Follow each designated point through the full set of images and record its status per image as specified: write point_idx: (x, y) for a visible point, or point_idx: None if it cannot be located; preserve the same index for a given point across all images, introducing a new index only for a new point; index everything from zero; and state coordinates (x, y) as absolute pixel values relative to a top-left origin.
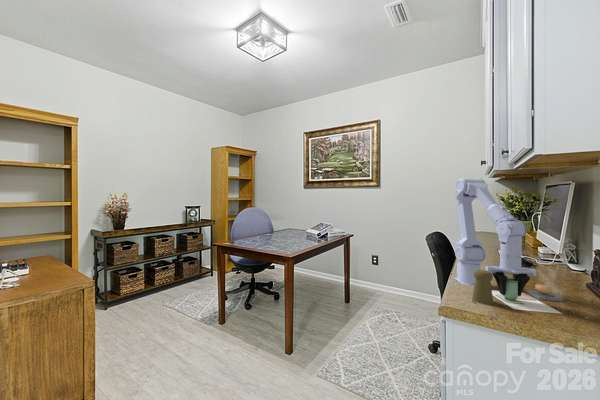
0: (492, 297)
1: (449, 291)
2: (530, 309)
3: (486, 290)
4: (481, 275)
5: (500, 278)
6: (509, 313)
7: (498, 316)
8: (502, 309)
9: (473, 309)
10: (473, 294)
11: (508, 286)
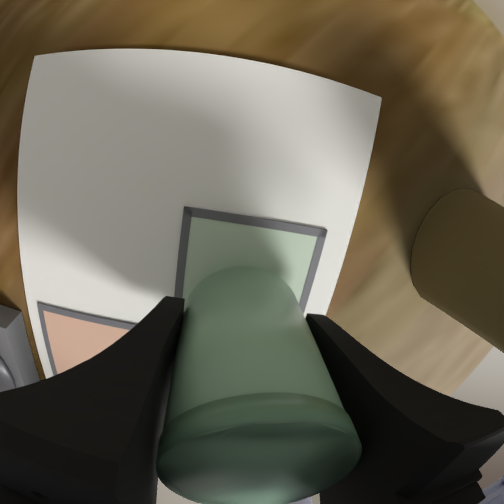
0: (473, 228)
1: (461, 382)
2: (232, 85)
3: None
4: None
5: (487, 408)
6: (429, 71)
7: (496, 59)
8: (428, 135)
9: None
10: None
11: (322, 363)
